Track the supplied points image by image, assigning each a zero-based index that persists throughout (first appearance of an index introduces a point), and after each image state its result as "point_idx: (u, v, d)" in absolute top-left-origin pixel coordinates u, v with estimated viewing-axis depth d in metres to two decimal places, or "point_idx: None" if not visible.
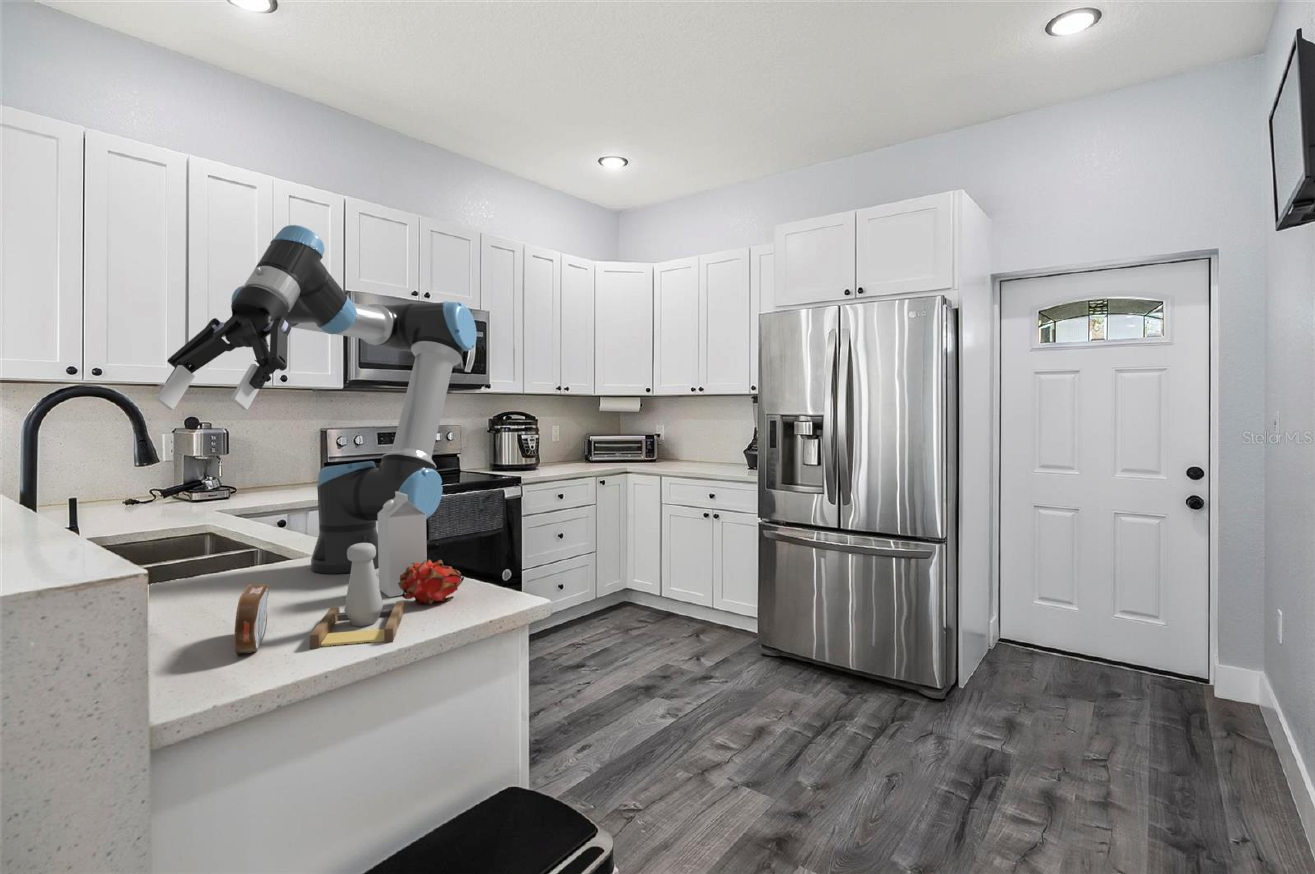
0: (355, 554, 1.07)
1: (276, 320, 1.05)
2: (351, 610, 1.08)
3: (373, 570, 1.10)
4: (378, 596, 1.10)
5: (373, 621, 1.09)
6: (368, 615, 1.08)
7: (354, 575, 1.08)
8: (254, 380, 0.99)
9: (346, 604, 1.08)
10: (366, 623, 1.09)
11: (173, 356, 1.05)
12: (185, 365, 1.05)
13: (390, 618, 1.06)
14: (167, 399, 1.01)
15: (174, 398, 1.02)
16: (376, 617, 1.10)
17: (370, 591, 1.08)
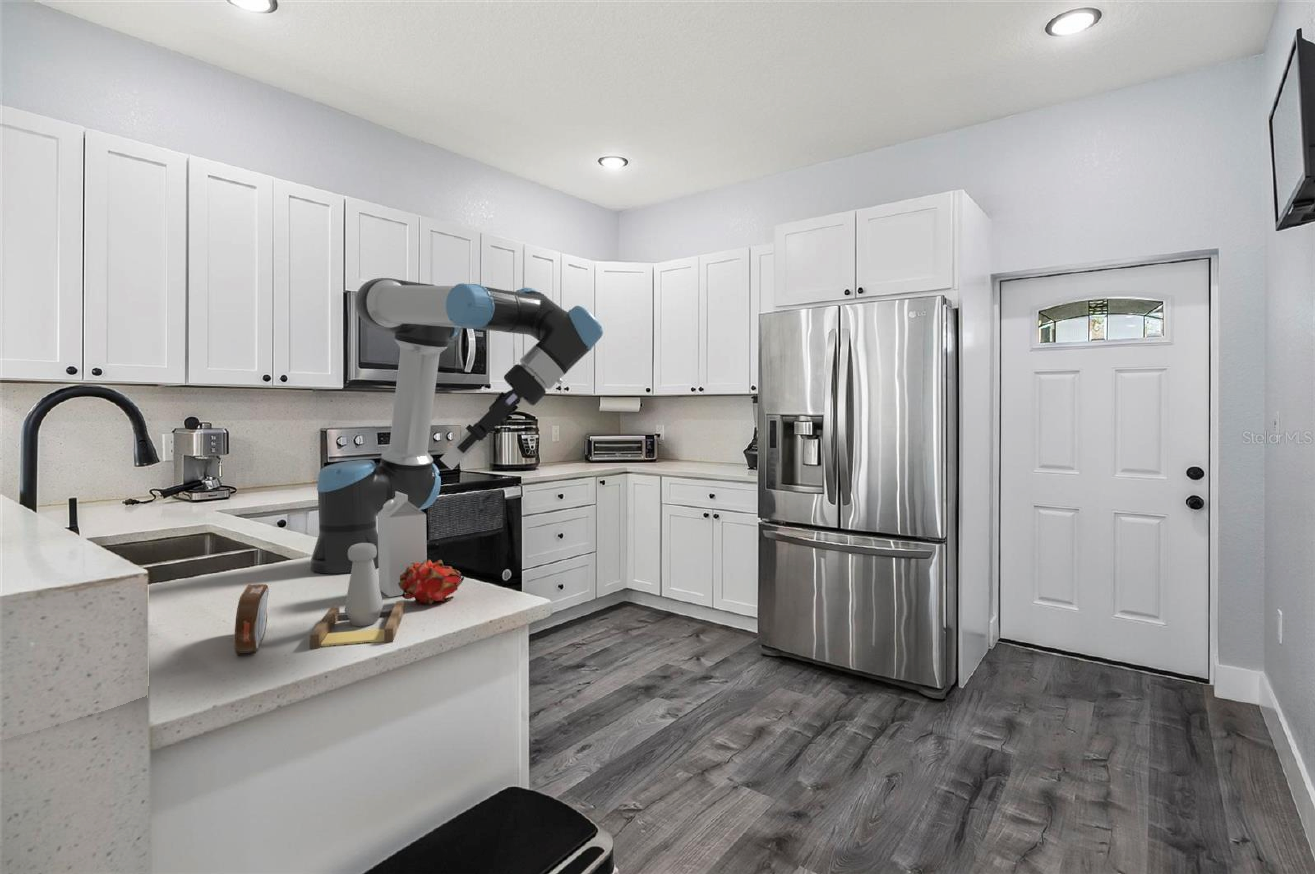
0: (356, 554, 1.07)
1: None
2: (351, 609, 1.08)
3: (374, 570, 1.10)
4: (378, 596, 1.10)
5: (373, 621, 1.09)
6: (368, 616, 1.08)
7: (354, 575, 1.08)
8: None
9: (346, 604, 1.08)
10: (366, 623, 1.09)
11: (487, 433, 1.11)
12: None
13: (390, 618, 1.06)
14: None
15: None
16: (376, 617, 1.10)
17: (370, 591, 1.08)
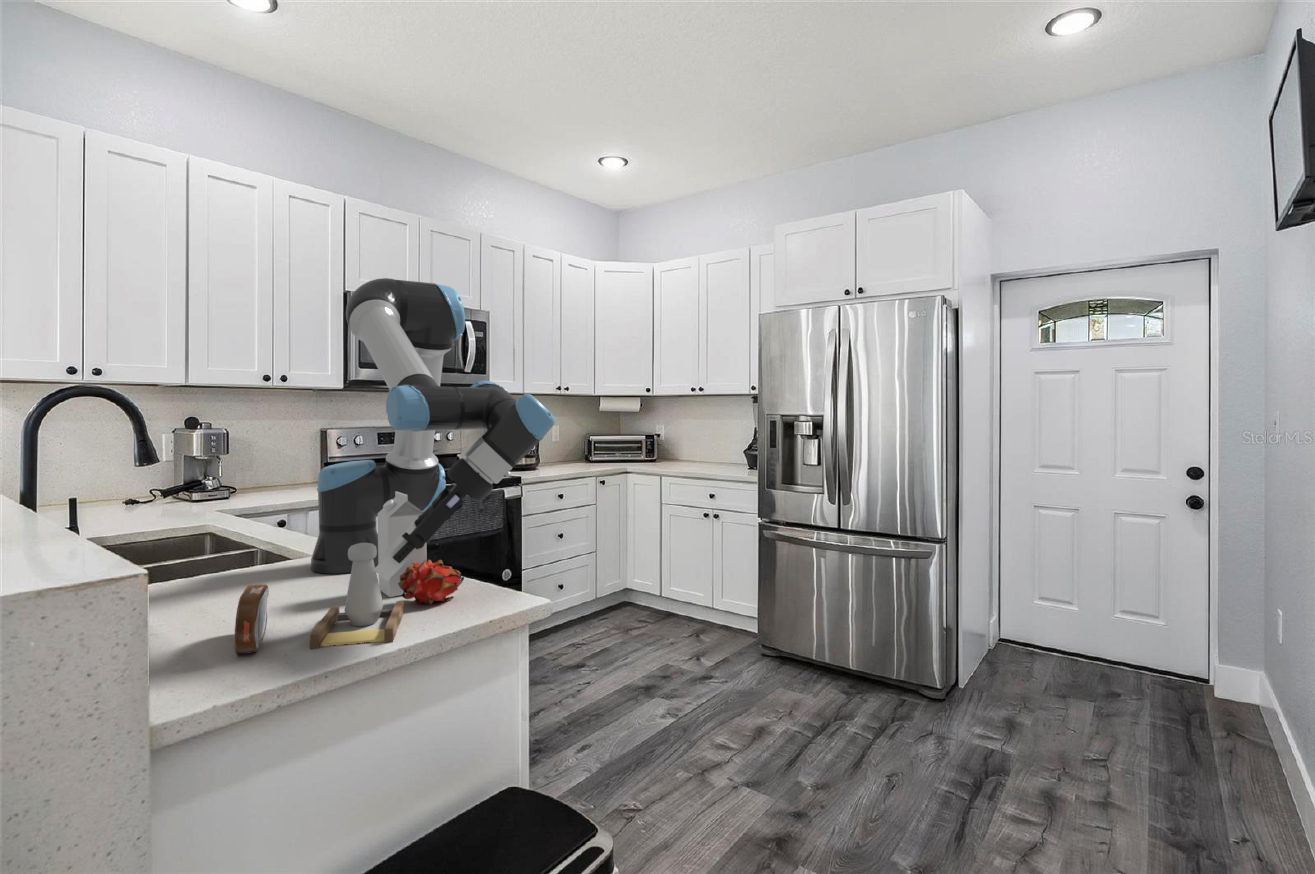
0: (356, 554, 1.07)
1: None
2: (351, 609, 1.08)
3: None
4: (378, 596, 1.10)
5: (373, 621, 1.09)
6: (368, 616, 1.08)
7: (354, 575, 1.08)
8: None
9: (346, 604, 1.08)
10: (366, 623, 1.09)
11: (425, 542, 1.02)
12: None
13: (390, 618, 1.06)
14: None
15: None
16: (376, 617, 1.10)
17: (370, 591, 1.08)
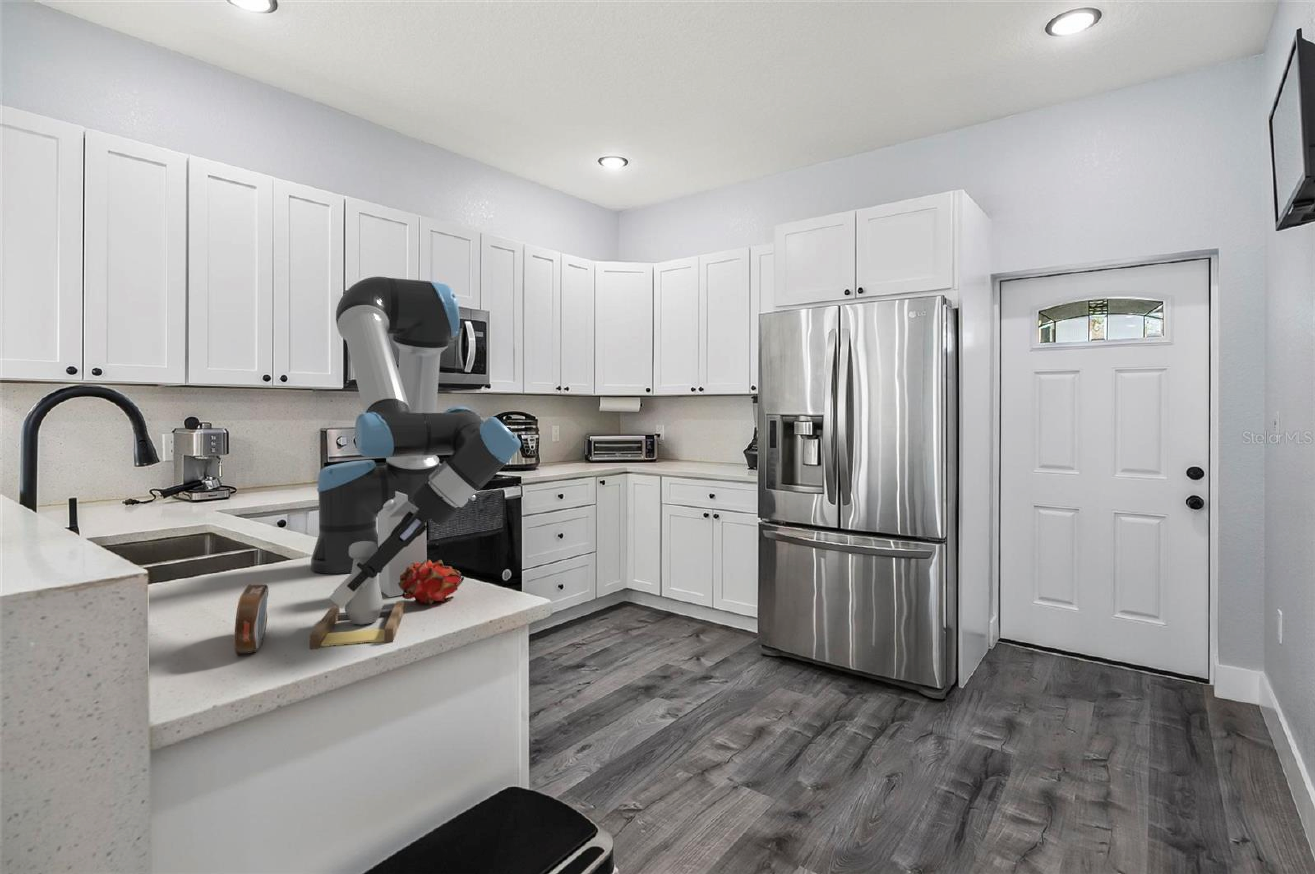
0: (357, 551, 1.08)
1: None
2: (351, 607, 1.08)
3: None
4: (378, 594, 1.10)
5: (373, 619, 1.09)
6: (368, 613, 1.08)
7: None
8: None
9: None
10: (366, 621, 1.09)
11: (377, 572, 1.06)
12: None
13: (390, 618, 1.06)
14: None
15: None
16: (376, 616, 1.10)
17: (370, 588, 1.09)
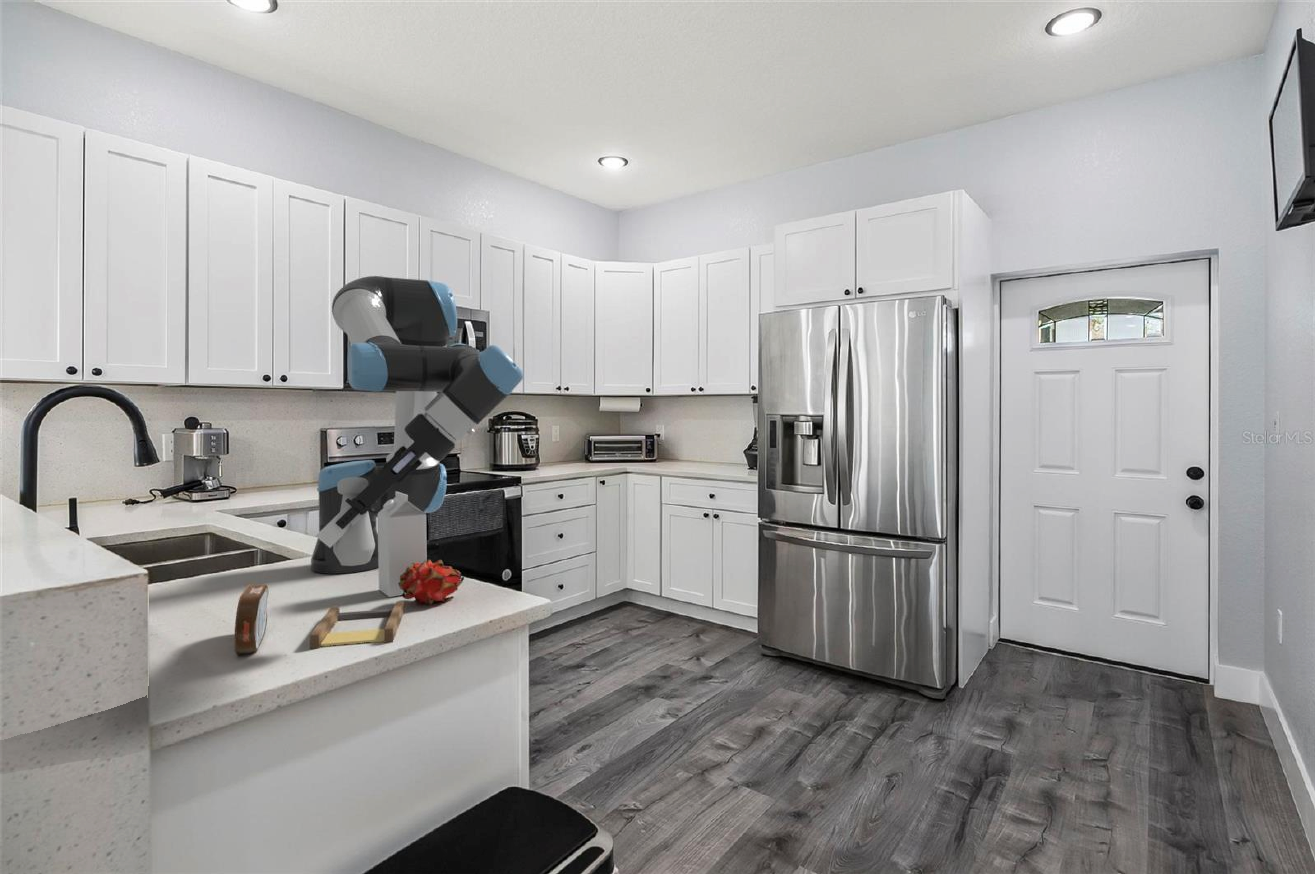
0: (346, 486, 1.00)
1: None
2: (340, 547, 0.99)
3: None
4: (370, 534, 1.02)
5: (364, 561, 1.01)
6: (359, 553, 1.00)
7: None
8: None
9: None
10: (356, 562, 1.01)
11: (368, 508, 0.98)
12: None
13: (390, 618, 1.06)
14: None
15: None
16: (367, 557, 1.02)
17: (361, 527, 1.01)
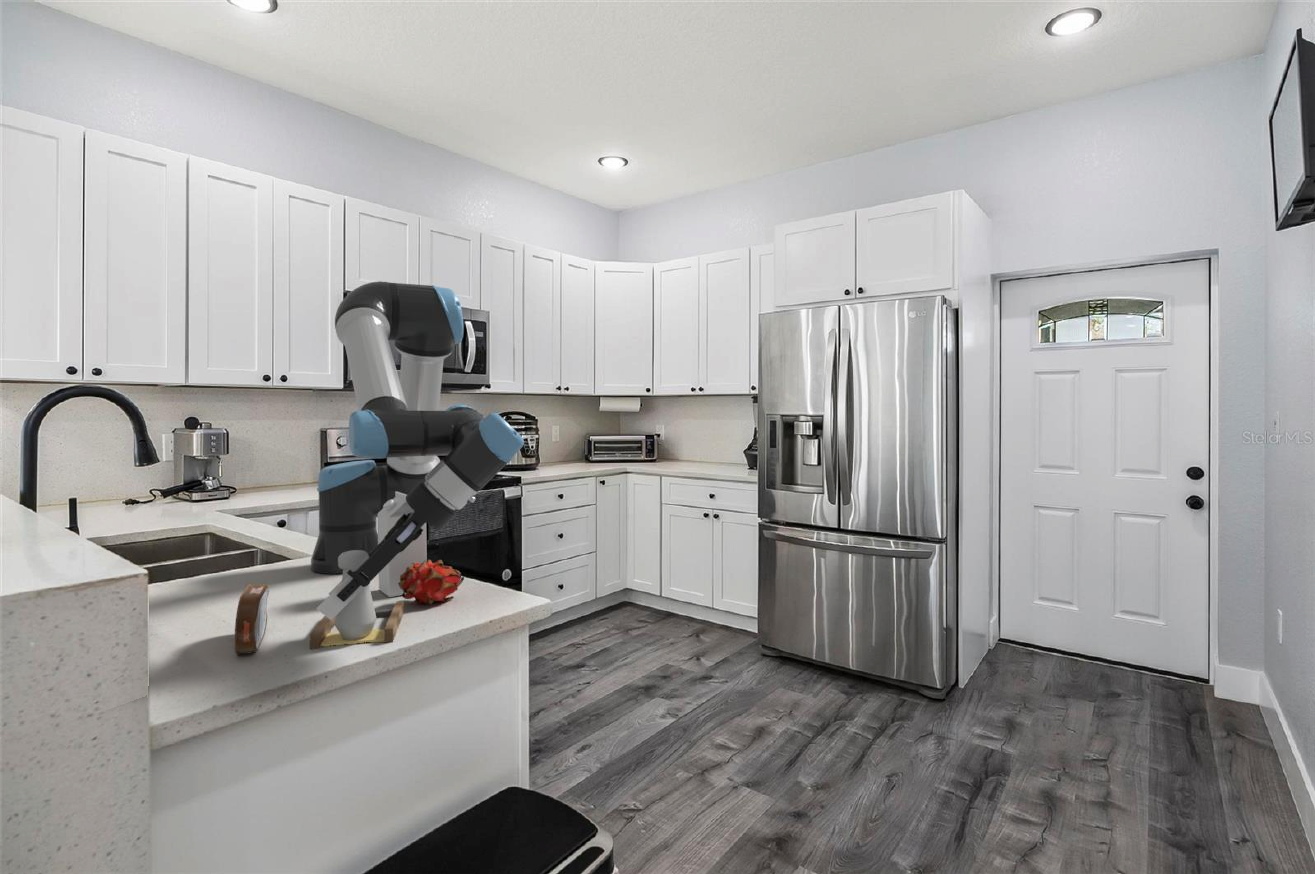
0: (347, 561, 1.00)
1: None
2: (342, 622, 1.00)
3: None
4: (371, 607, 1.03)
5: (365, 634, 1.02)
6: (360, 628, 1.01)
7: None
8: None
9: (336, 616, 1.01)
10: (358, 636, 1.01)
11: (370, 580, 0.97)
12: None
13: (390, 618, 1.06)
14: None
15: None
16: (369, 630, 1.02)
17: (362, 601, 1.01)
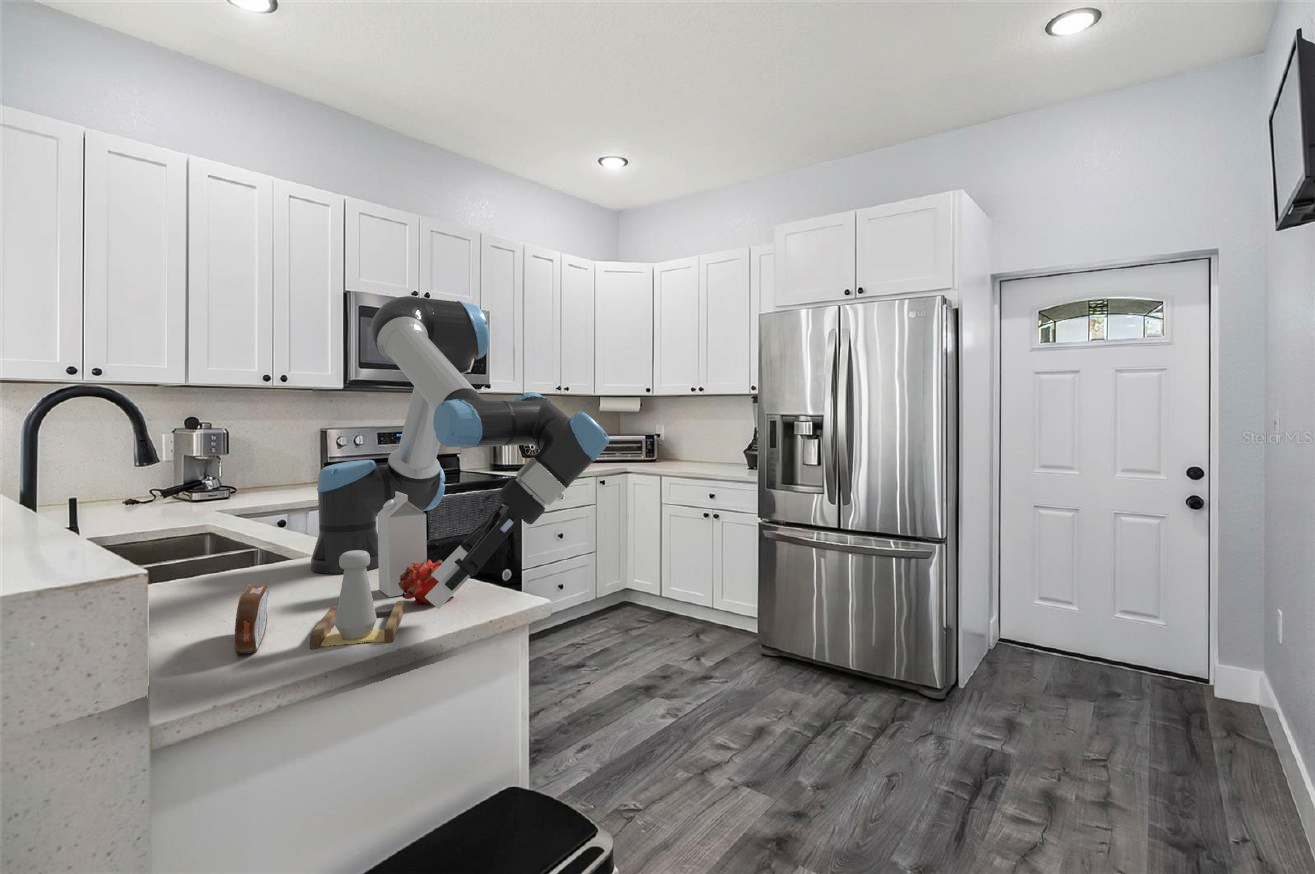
0: (348, 561, 1.00)
1: None
2: (342, 622, 1.00)
3: (367, 579, 1.03)
4: (371, 607, 1.03)
5: (365, 635, 1.02)
6: (360, 628, 1.01)
7: (346, 584, 1.01)
8: None
9: (337, 616, 1.01)
10: (358, 637, 1.01)
11: (479, 569, 0.98)
12: None
13: (390, 618, 1.06)
14: None
15: None
16: (369, 630, 1.02)
17: (362, 601, 1.01)
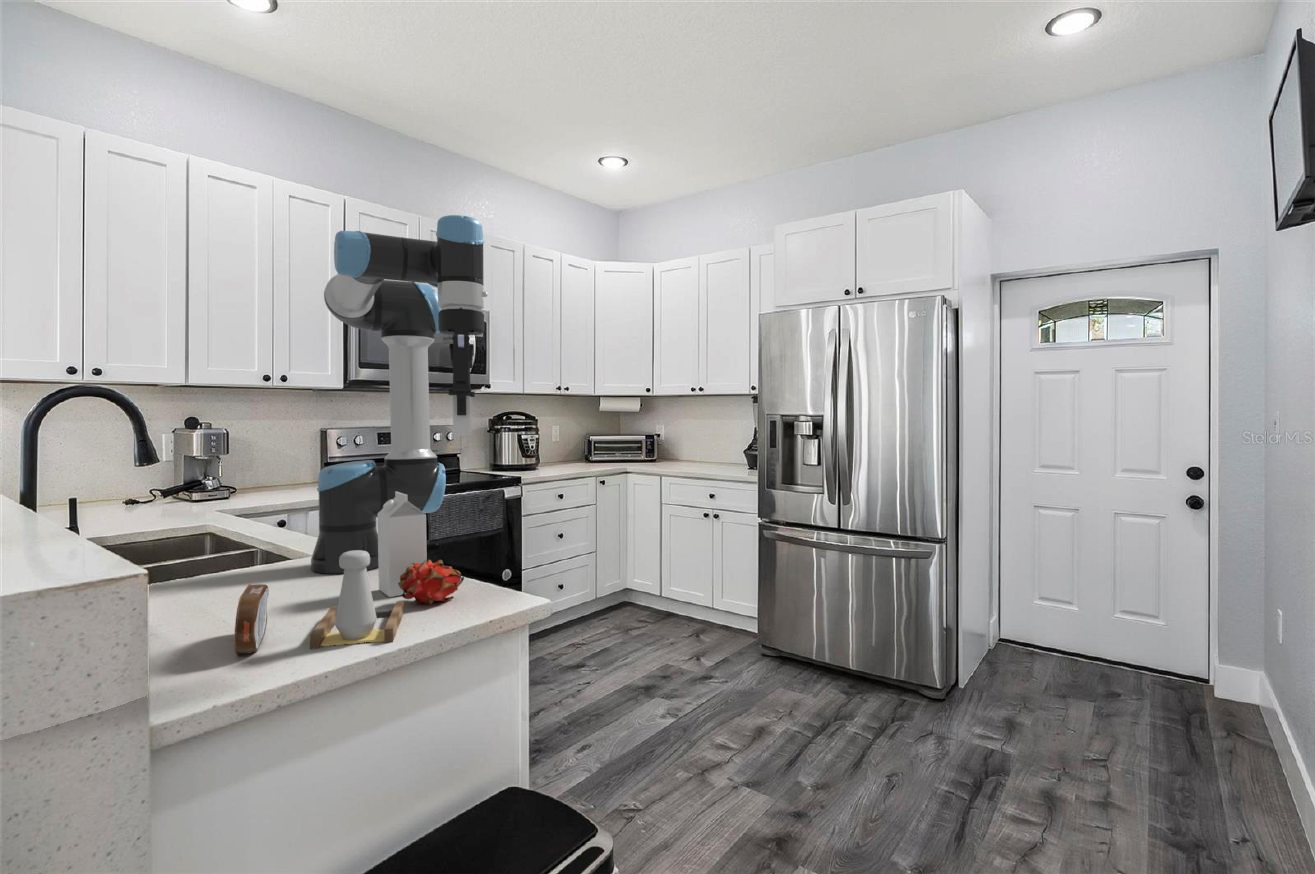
0: (348, 561, 1.00)
1: None
2: (342, 622, 1.00)
3: (367, 579, 1.03)
4: (371, 607, 1.03)
5: (365, 635, 1.02)
6: (360, 628, 1.01)
7: (346, 584, 1.01)
8: None
9: (337, 616, 1.01)
10: (358, 637, 1.01)
11: (468, 383, 1.06)
12: None
13: (390, 618, 1.06)
14: None
15: None
16: (369, 630, 1.02)
17: (362, 601, 1.01)
